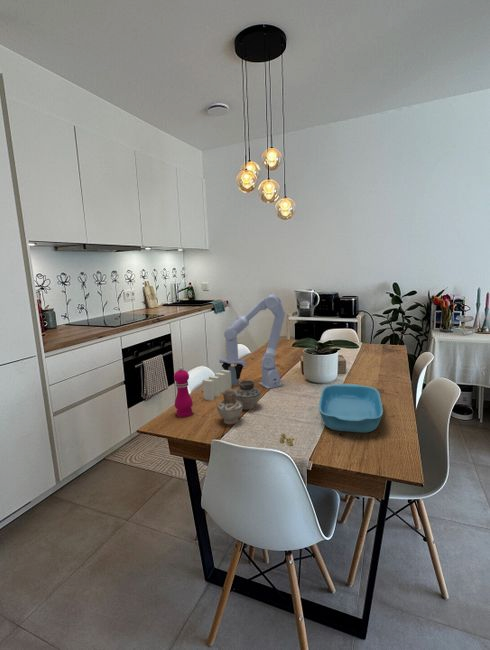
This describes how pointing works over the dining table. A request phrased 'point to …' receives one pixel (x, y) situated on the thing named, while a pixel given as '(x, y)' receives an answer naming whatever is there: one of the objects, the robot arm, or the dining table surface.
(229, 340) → the robot arm
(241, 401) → the pottery
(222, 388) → the tile
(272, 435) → the dining table surface
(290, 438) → the olive bow shape
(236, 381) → the slate tile
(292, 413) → the dining table surface
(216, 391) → the ivory tile
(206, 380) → the ivory tile
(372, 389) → the casserole dish
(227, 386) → the ivory tile
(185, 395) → the pepper mill
